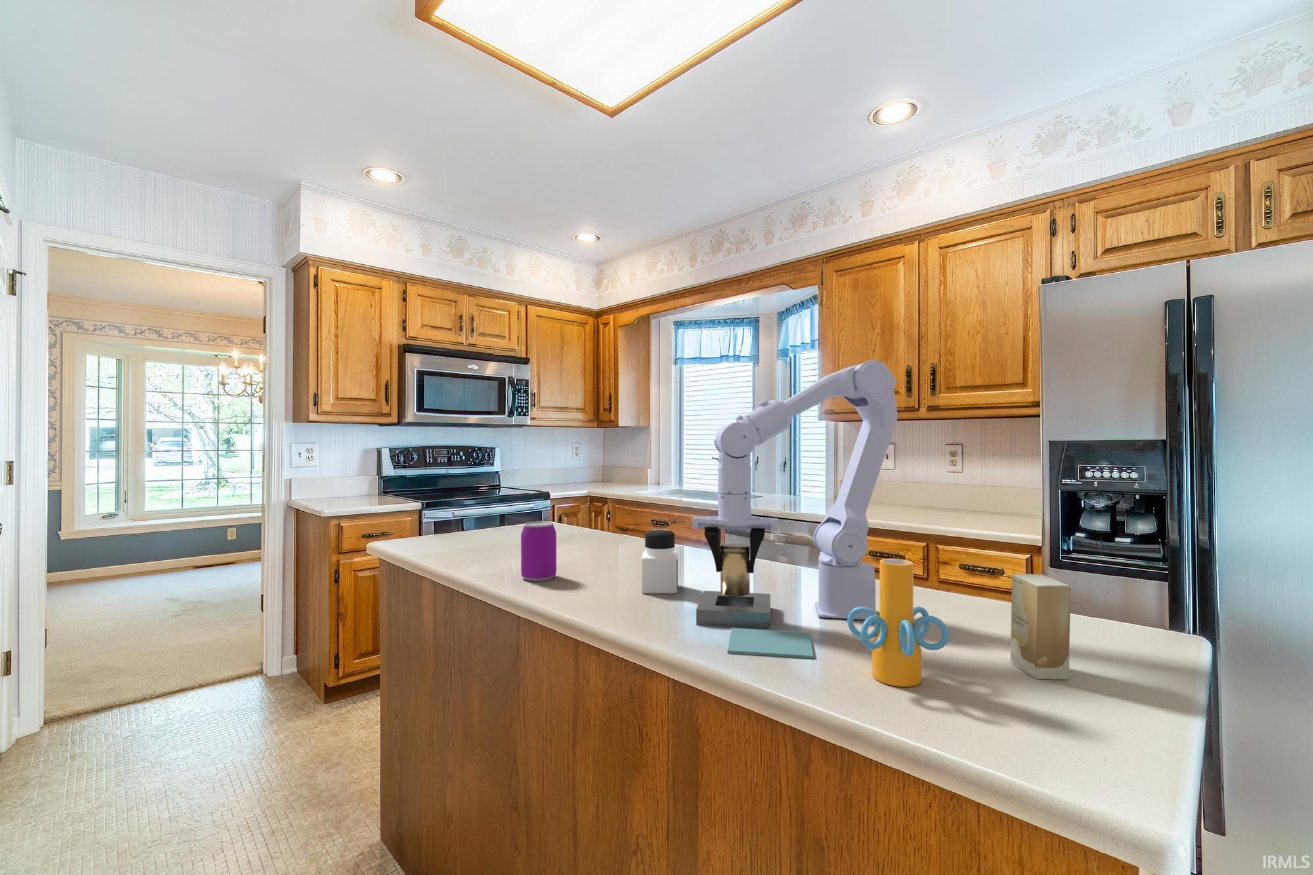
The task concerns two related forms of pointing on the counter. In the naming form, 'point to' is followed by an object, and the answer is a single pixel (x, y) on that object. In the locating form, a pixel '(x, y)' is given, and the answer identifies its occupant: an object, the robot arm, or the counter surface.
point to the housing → (734, 610)
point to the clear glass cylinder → (735, 569)
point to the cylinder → (897, 628)
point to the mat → (770, 643)
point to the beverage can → (538, 551)
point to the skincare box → (1040, 626)
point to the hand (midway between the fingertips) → (735, 571)
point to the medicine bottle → (659, 563)
